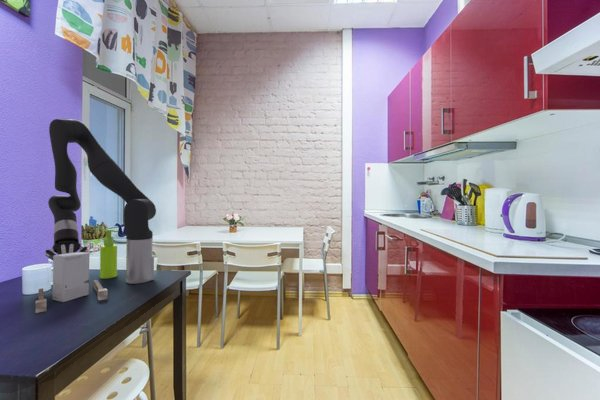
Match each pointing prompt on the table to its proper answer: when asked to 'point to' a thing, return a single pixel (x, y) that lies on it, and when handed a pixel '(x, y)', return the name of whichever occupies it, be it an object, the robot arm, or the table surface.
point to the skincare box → (70, 276)
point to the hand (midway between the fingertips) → (68, 270)
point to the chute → (42, 303)
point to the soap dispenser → (108, 256)
